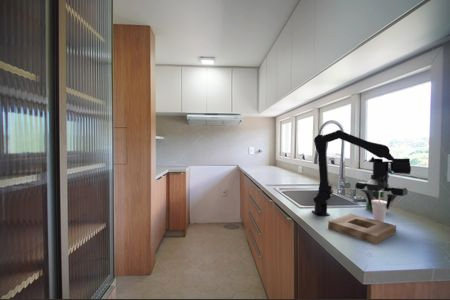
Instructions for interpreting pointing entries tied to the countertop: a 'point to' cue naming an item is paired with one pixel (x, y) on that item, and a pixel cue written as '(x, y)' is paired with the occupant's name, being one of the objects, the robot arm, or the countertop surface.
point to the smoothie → (379, 209)
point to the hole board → (362, 228)
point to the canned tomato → (375, 197)
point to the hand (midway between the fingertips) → (379, 207)
